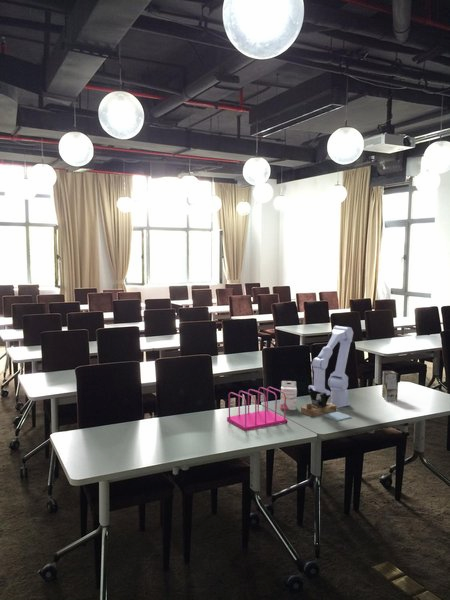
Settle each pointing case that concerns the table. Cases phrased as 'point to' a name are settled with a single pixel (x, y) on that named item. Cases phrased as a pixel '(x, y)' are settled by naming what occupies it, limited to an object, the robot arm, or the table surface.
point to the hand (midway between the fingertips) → (318, 405)
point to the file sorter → (257, 413)
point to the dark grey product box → (317, 402)
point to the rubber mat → (337, 416)
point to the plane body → (317, 409)
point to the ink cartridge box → (289, 395)
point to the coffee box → (390, 386)
